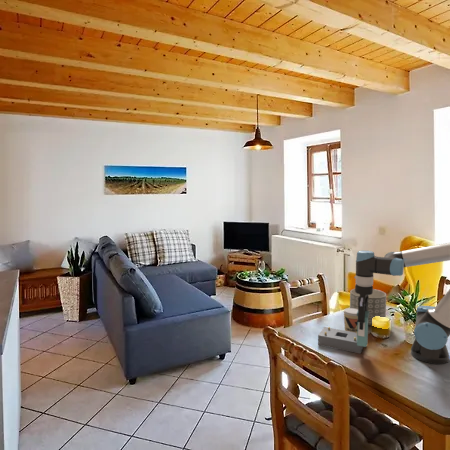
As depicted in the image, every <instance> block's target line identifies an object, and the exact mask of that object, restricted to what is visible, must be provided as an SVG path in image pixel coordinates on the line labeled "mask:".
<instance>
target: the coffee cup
mask: <svg viewBox="0 0 450 450" xmlns="http://www.w3.org/2000/svg"><path fill="white" fill-rule="evenodd" d="M357 311H358V309H355V308H350V307H347V308H345V309H344V310H343V319H344V324H343V325H344V331H350V332H355V333H357V326H358V322H357V320H358V316H357Z"/></svg>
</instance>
